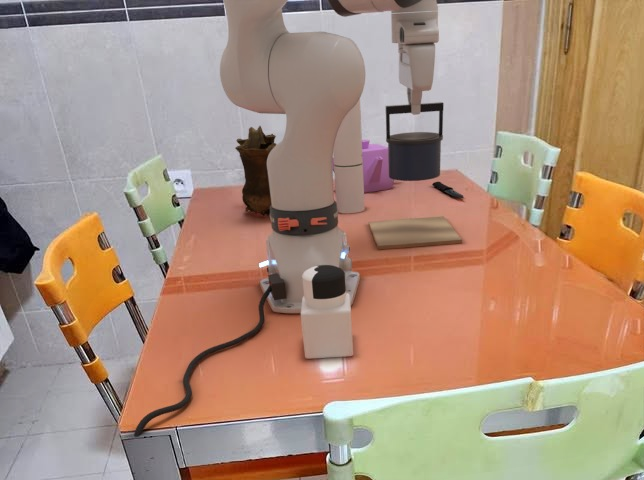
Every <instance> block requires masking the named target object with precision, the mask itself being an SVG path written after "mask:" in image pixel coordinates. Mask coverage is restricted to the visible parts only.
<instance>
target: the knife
mask: <svg viewBox="0 0 644 480" xmlns="http://www.w3.org/2000/svg"><path fill="white" fill-rule="evenodd" d="M431 185H432V186H433V187H435V188H437V189H438V190H440V191H441V192H442V193H444V194H449V195H450V196H452V197H455V198H459V199H466V198H465V197H464V195H463V194H461V193H459V192H458V191H456V190H454V188H453V187H451V186H448V185H446V184H444V183H442V182H441V181H434V182H432V184H431Z"/></svg>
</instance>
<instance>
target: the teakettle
mask: <svg viewBox="0 0 644 480" xmlns="http://www.w3.org/2000/svg"><path fill="white" fill-rule="evenodd" d="M370 142H371V141H370V139H362V159H363V182H364V194H365V193H372V192H373V193H374V192H380V191H381V192H382V191H387V190H391V189H393V188H394V183H395V180H394V179H391V178H389V164H388V146H385V145H382V144H379V143H370ZM333 172H334V158H333Z"/></svg>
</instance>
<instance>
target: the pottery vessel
mask: <svg viewBox="0 0 644 480" xmlns="http://www.w3.org/2000/svg"><path fill="white" fill-rule="evenodd" d="M276 137H277V136H276V135H275V134H274V133H271V134H265V133H264V132H263V128H262V125H259V126H258V127H257V129H255V128H254V127H253V126H250V127H249V128H248V136H247V138H244V139H242V138H237V139H236V143H237V144H238V145H237V146H236V147H235V148H234V149H235V150H236V151H237V152H238V153H239V157H240V160H241V164H242V166H243V174H244V179H245V180H244V185H243V186H242V190H241V194H242V196H241V197H242V198H241V199H242V202H243V204H244V205H245V212H246V213H248V212H251V213H254V214H257V213H260V215H261V216H263V217H266V216H269V217H270V206H271V205H272V204H271V196H270V187H269V179H268V171H267V158H268V155H269V153H270V151H271V150H272V149H273V148H274V147H275V146H276V145H277V143H276V142H275V139H276Z"/></svg>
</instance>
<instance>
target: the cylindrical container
mask: <svg viewBox="0 0 644 480" xmlns="http://www.w3.org/2000/svg"><path fill="white" fill-rule="evenodd" d="M361 111H362V110H361V98H360V99H359V101H358V102H357V104H356V105H355V106H354V107H353V108H352V109H351V110H350V111H349V112H348V114H347V115H346V116H345V118H344V119H343V121H342V123H341V125H340V127H339V130H338V133H337V136H336V139H335V143H334V149H333V158H334V171H333V174H334V188H335V201H336V203H337V209H338V213H341V214H356V213H361V212H364V211H365V210H366V209H365V193H364V182H363V159H362V140H363V136H362V115H361Z"/></svg>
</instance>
